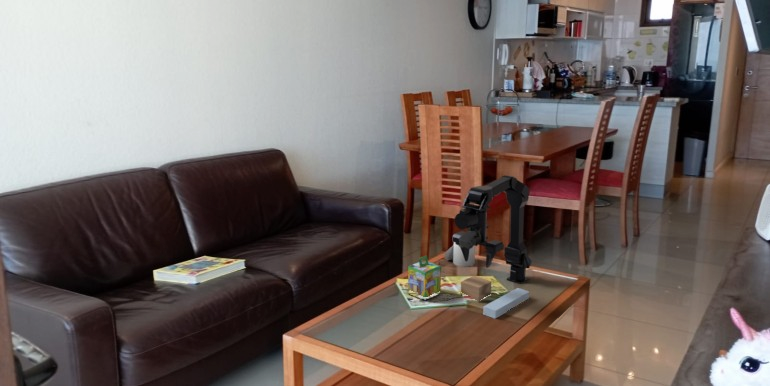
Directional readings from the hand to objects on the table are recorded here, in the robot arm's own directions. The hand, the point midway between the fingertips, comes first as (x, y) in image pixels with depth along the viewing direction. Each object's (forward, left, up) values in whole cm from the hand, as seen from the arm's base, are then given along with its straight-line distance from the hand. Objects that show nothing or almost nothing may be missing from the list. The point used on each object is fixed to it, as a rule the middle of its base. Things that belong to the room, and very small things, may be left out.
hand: (476, 264), depth 227 cm
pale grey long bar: (-4, +10, -15) cm, 19 cm away
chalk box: (+8, -18, -15) cm, 25 cm away
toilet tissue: (-28, -28, -15) cm, 43 cm away
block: (-4, -3, -15) cm, 16 cm away
